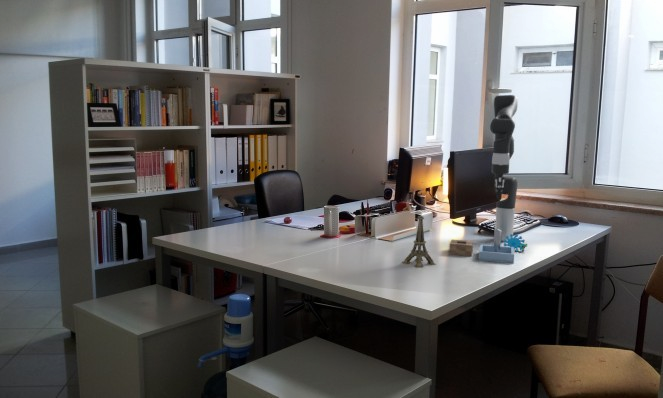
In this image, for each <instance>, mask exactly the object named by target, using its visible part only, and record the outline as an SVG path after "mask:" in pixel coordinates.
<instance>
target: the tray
mask: <svg viewBox="0 0 663 398" xmlns="http://www.w3.org/2000/svg"><path fill="white" fill-rule="evenodd" d="M493 246H494V244H493V245H489V244H480V245H479V251H478V261H484V262H492V263H493V262H495V263H496V262H497V263H506V264H514V262H515V249H514V247H510V246H504V245H503V246H502V245H500V253H498V252H493Z"/></svg>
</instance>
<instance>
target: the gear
mask: <svg viewBox="0 0 663 398" xmlns="http://www.w3.org/2000/svg"><path fill="white" fill-rule="evenodd" d="M510 237H511V238H510V239H509V236H506V239H508V241H506V239H504V241H502V242H503V246H505V247H514V253H518V252H519V250H520V251H525V248H527V247H528V243H525V239H523V237H522V236H519V235H518V234H517V233H516V234H514V233H513V234H510ZM512 237H513V238H512Z"/></svg>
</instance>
